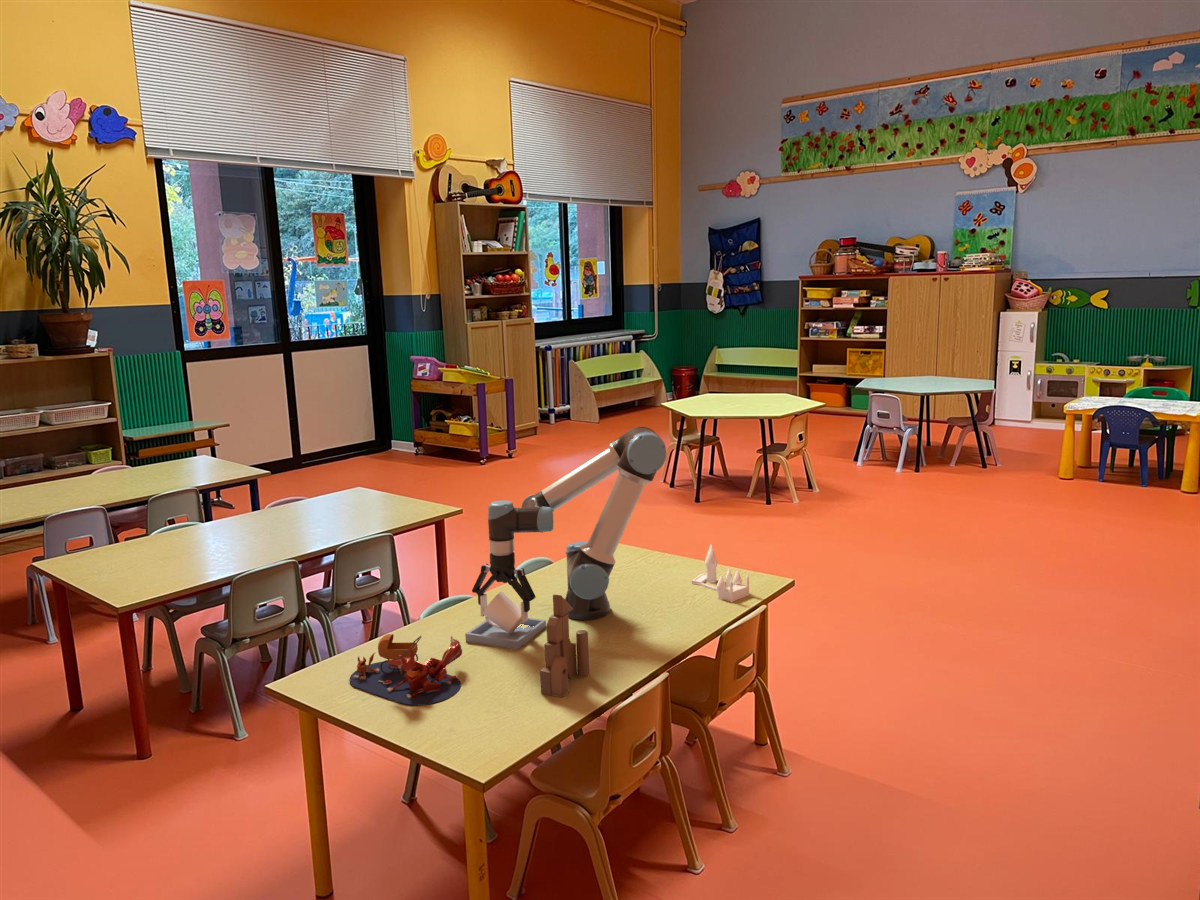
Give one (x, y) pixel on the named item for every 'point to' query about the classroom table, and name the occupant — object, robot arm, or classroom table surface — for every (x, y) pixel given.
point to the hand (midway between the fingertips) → (504, 619)
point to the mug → (503, 613)
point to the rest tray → (505, 634)
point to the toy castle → (723, 593)
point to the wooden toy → (562, 652)
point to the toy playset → (408, 674)
